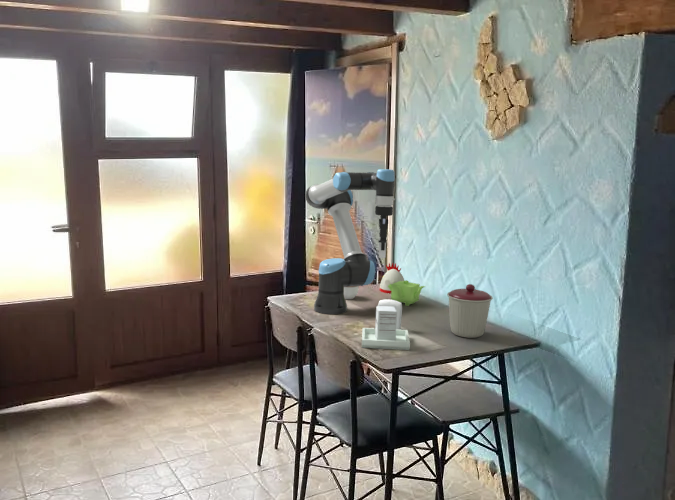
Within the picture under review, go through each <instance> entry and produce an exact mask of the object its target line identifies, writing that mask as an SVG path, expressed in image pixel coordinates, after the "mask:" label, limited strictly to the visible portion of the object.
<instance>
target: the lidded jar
mask: <svg viewBox="0 0 675 500" xmlns="http://www.w3.org/2000/svg"><path fill="white" fill-rule="evenodd" d="M359 289H360V286H350V287H344V297H345V300H354V299H355V297H356V296H357V295H358V293H359Z"/></svg>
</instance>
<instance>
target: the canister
mask: <svg viewBox="0 0 675 500" xmlns="http://www.w3.org/2000/svg"><path fill="white" fill-rule="evenodd" d="M447 297H448V311H449V326H450V330H451V332H452V334H453V335H455V336H457V337H461V338H466V339H467V338H468V339H476V338H479V337H481V336H483V334H484V333H485V330H486V327H487V322H488V317H489V314H490V313H489V312H490V307H491V301H492V300H493V299H494V298H493V296H492V295H491V294H490V293H488V292H486V291H484V290H480V289H476V287H475V285H474V284H471V283H469V284H467V285H466V286H465V288H456V289H452V290H451V291H449V292H447Z"/></svg>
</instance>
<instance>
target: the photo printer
mask: <svg viewBox="0 0 675 500" xmlns="http://www.w3.org/2000/svg"><path fill="white" fill-rule="evenodd" d="M402 303H403V302H398V301H395V300H391V298H390V299H389V298H387V299H380V300H379V301H378V304H377V306H393V307H395V309H396V311H397V324H396V329H398V330H402V317H403V314H402V313H403V304H402Z"/></svg>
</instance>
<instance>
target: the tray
mask: <svg viewBox="0 0 675 500" xmlns="http://www.w3.org/2000/svg"><path fill="white" fill-rule="evenodd" d="M410 340H411V339H410V336H409V331H408V329H401V330H398V329H396V341H390V340H376V337H375V328H374V327H362V329H361V348H365V349H379V350H380V349H383V350H402V351H403V350H404V351H406V350H407V351H410V348H411V347H410V346H411V341H410Z"/></svg>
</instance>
